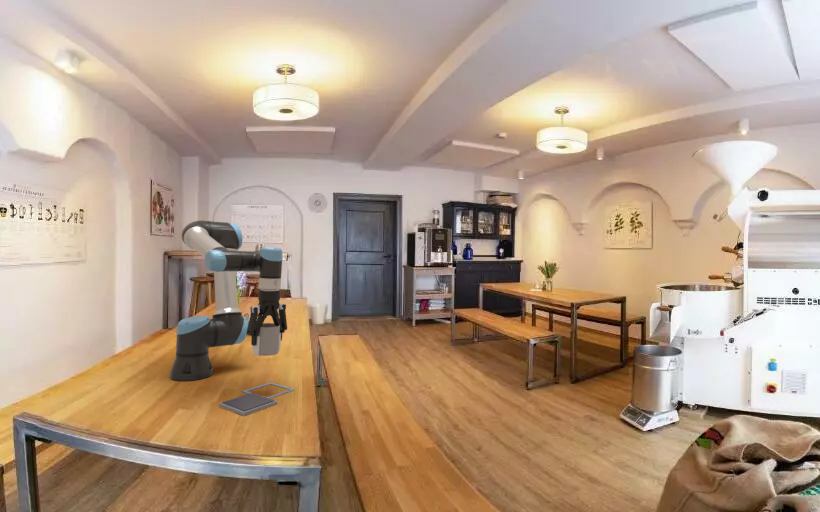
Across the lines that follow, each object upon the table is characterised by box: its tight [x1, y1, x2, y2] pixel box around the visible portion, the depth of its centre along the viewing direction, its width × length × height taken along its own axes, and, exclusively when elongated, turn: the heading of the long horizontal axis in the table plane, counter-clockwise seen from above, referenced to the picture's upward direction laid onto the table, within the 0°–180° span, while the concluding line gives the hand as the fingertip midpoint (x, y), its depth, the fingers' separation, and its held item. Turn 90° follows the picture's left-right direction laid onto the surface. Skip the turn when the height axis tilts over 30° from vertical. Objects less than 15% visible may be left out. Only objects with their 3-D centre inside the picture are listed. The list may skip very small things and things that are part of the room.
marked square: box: [241, 382, 295, 399], centre depth 149 cm, size 13×13×1 cm
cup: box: [258, 322, 280, 357], centre depth 147 cm, size 8×8×10 cm
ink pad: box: [218, 392, 278, 417], centre depth 135 cm, size 13×13×1 cm
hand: (266, 352), depth 147 cm, fingers closed on cup, 8 cm apart
